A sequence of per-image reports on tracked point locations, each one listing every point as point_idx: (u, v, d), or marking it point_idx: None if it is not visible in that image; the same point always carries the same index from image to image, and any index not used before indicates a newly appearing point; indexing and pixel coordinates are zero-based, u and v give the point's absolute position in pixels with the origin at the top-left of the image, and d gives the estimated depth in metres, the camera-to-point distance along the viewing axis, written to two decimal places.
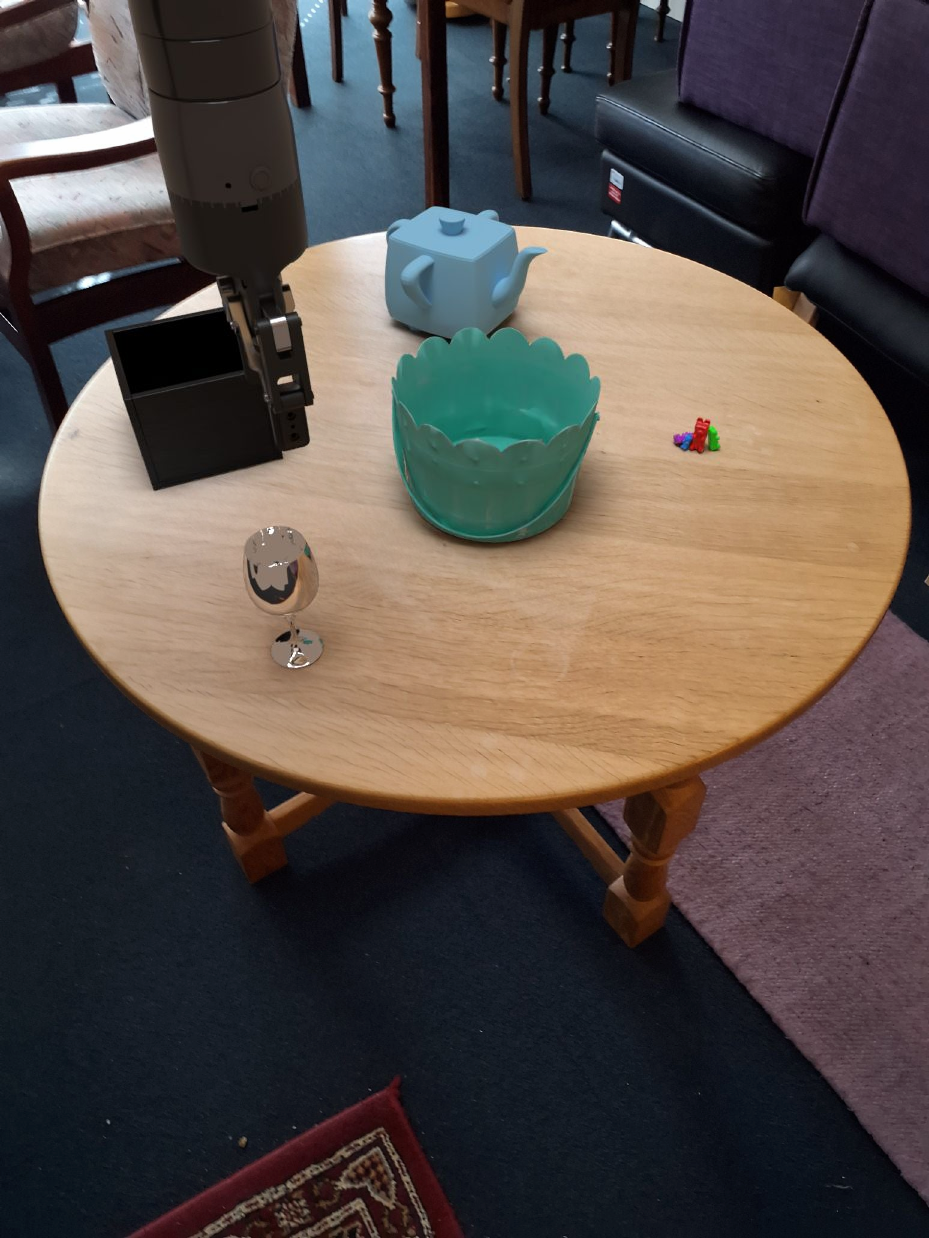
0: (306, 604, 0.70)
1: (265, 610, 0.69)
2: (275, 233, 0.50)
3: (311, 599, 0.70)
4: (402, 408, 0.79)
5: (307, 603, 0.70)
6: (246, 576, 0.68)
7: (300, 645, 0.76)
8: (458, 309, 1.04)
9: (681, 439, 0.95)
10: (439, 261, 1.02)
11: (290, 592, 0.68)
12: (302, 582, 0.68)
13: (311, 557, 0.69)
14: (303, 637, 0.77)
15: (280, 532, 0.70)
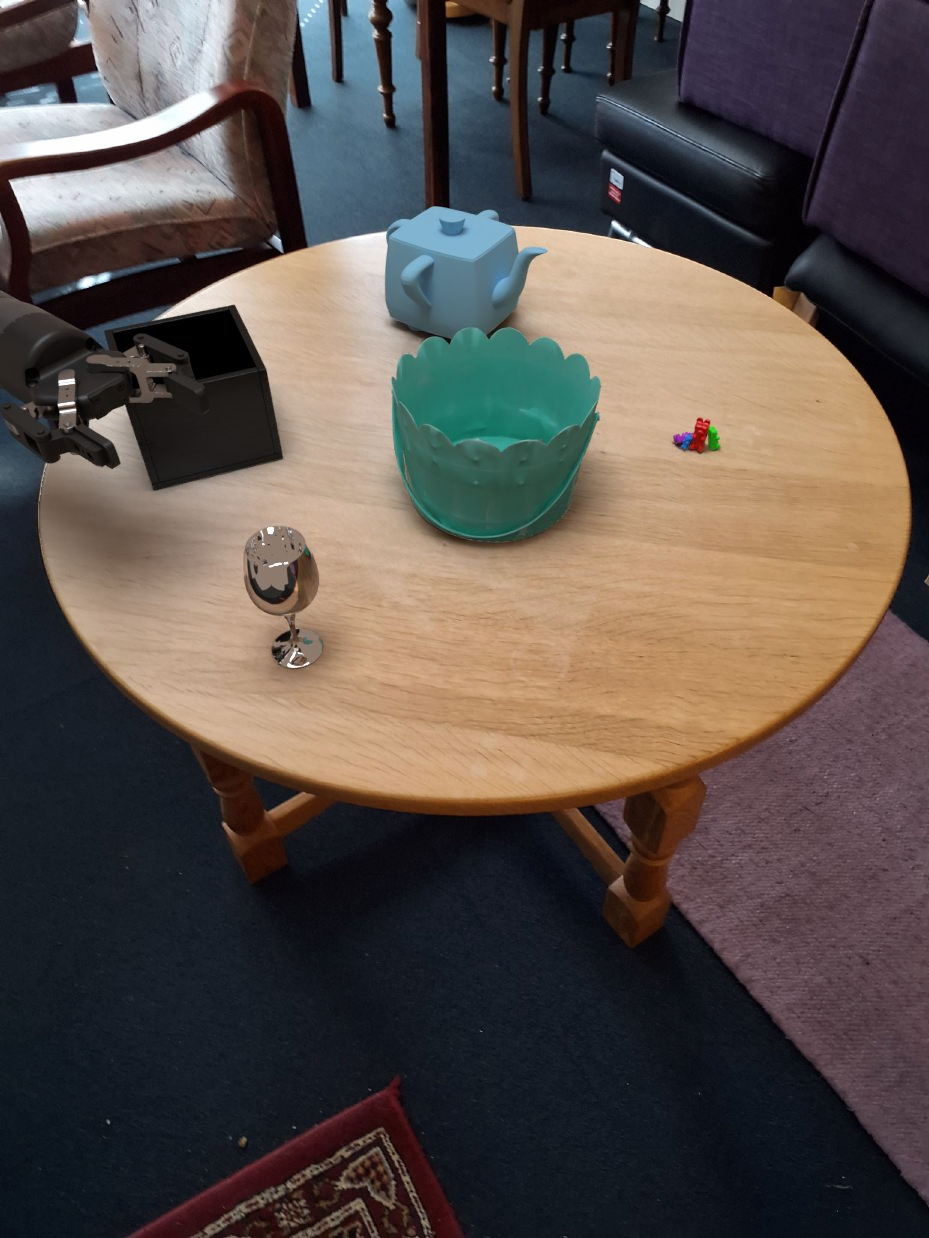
0: (306, 604, 0.70)
1: (265, 610, 0.69)
2: None
3: (311, 599, 0.70)
4: (402, 408, 0.79)
5: (307, 603, 0.70)
6: (246, 576, 0.68)
7: (300, 645, 0.76)
8: (458, 309, 1.04)
9: (681, 439, 0.95)
10: (439, 261, 1.02)
11: (290, 592, 0.68)
12: (302, 582, 0.68)
13: (311, 557, 0.69)
14: (303, 637, 0.77)
15: (280, 532, 0.70)
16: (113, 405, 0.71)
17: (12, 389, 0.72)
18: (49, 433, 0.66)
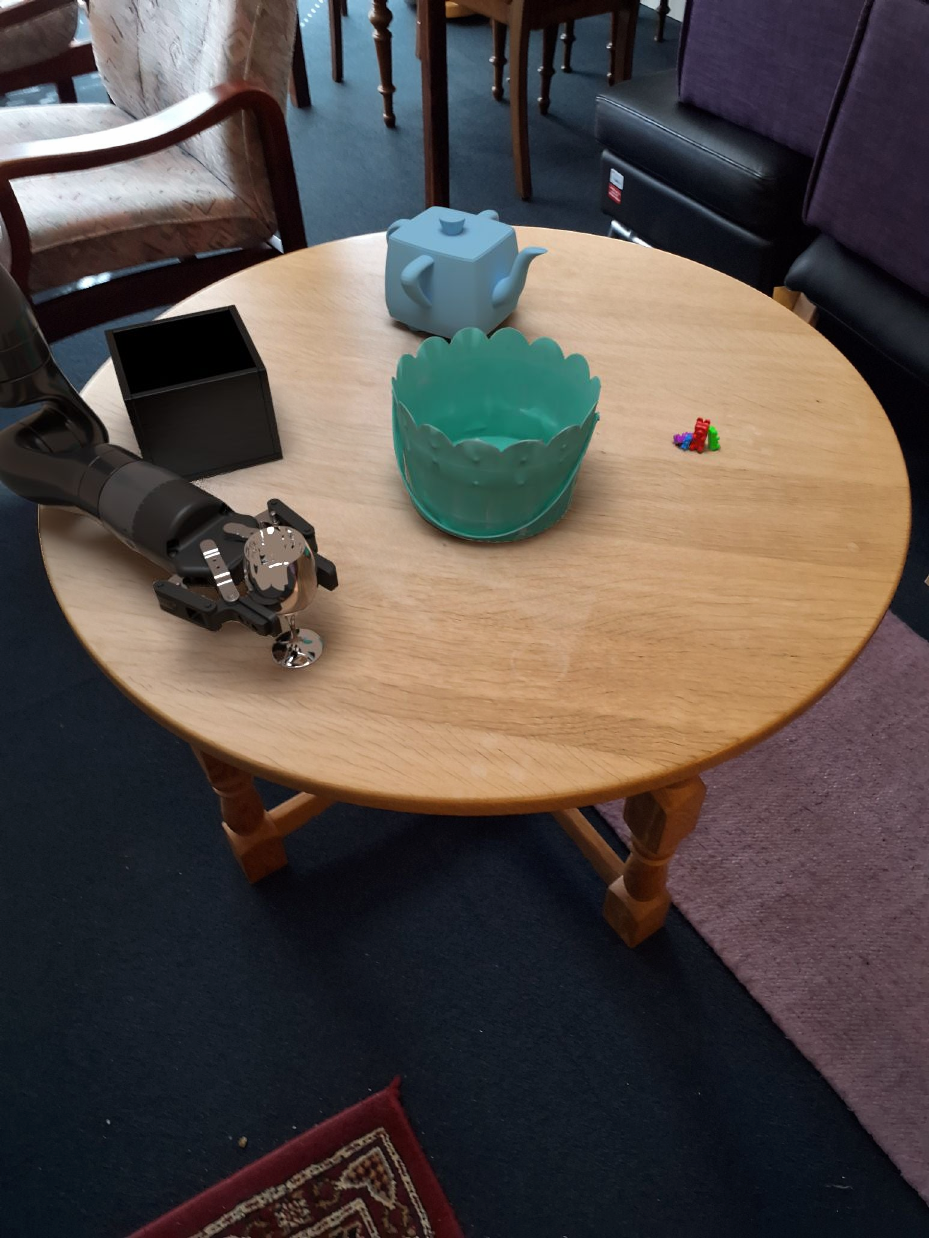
0: (306, 604, 0.70)
1: None
2: None
3: (311, 599, 0.70)
4: (402, 408, 0.79)
5: (307, 603, 0.70)
6: (246, 576, 0.68)
7: (300, 645, 0.76)
8: (458, 309, 1.04)
9: (681, 439, 0.95)
10: (439, 261, 1.02)
11: (290, 592, 0.68)
12: (302, 583, 0.68)
13: (311, 557, 0.69)
14: (303, 637, 0.77)
15: (280, 532, 0.70)
16: None
17: (150, 555, 0.75)
18: (215, 606, 0.69)
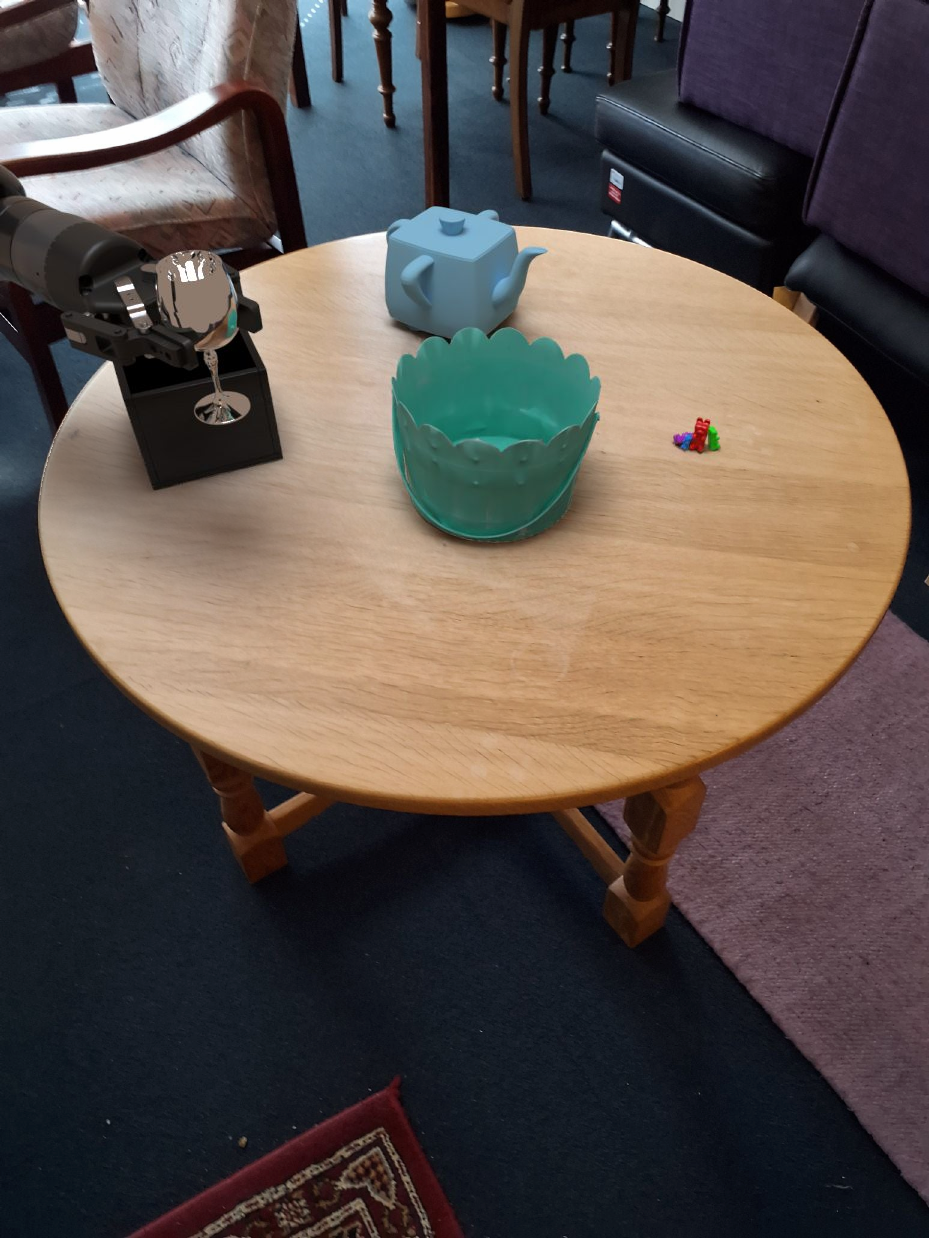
0: (225, 337, 0.65)
1: None
2: None
3: (230, 332, 0.66)
4: (402, 408, 0.79)
5: (226, 336, 0.65)
6: (158, 299, 0.63)
7: (225, 401, 0.71)
8: (458, 309, 1.04)
9: (681, 439, 0.95)
10: (439, 261, 1.02)
11: (205, 315, 0.63)
12: (219, 306, 0.64)
13: (229, 282, 0.64)
14: (229, 396, 0.72)
15: (197, 260, 0.66)
16: None
17: (63, 300, 0.70)
18: (126, 333, 0.64)
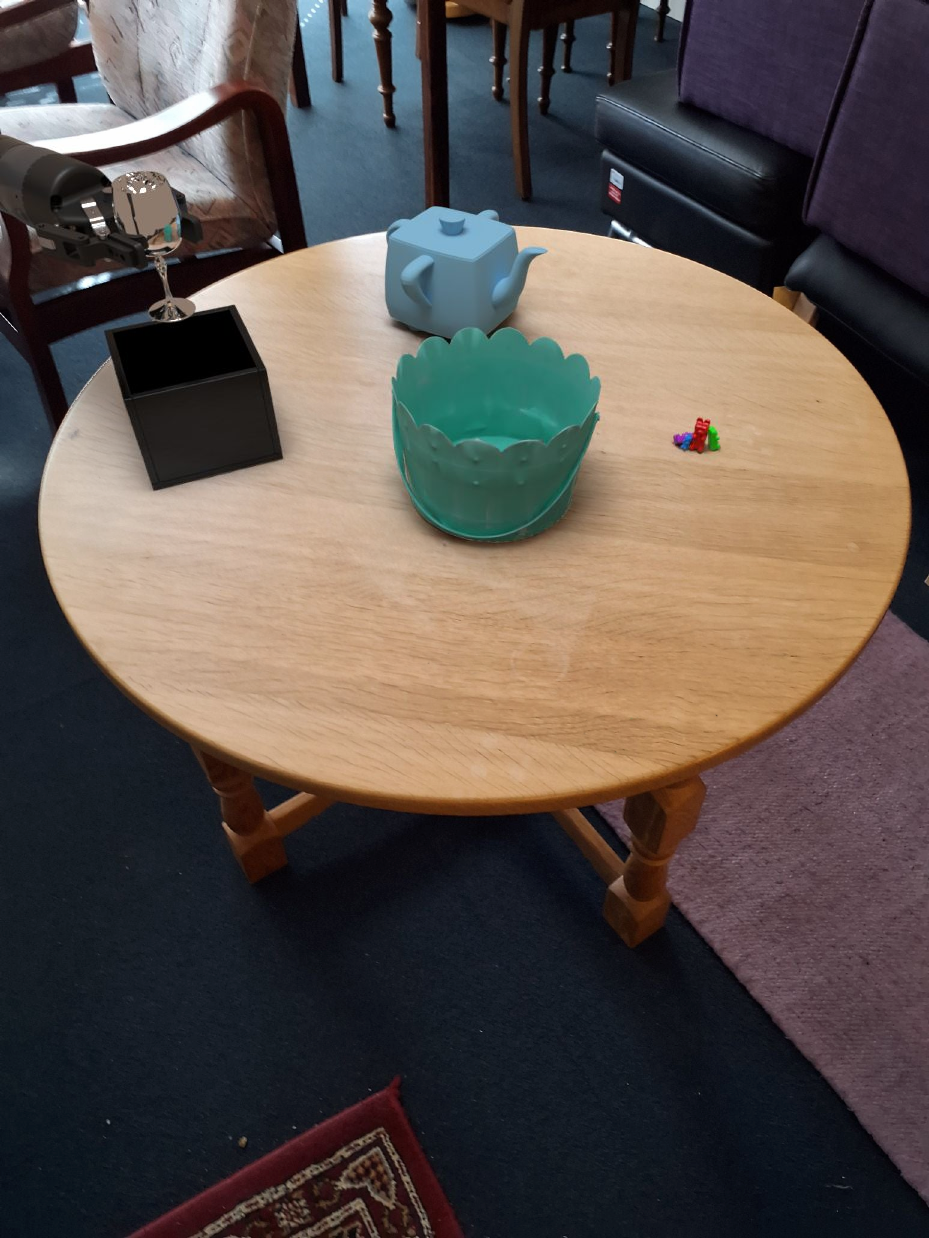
0: (170, 243, 0.79)
1: None
2: None
3: (175, 239, 0.79)
4: (402, 408, 0.79)
5: (171, 242, 0.79)
6: (114, 209, 0.77)
7: (174, 304, 0.85)
8: (458, 309, 1.04)
9: (681, 439, 0.95)
10: (439, 262, 1.02)
11: (152, 222, 0.77)
12: (164, 216, 0.77)
13: (173, 196, 0.78)
14: (178, 300, 0.86)
15: (147, 180, 0.79)
16: None
17: (38, 218, 0.84)
18: (88, 238, 0.78)
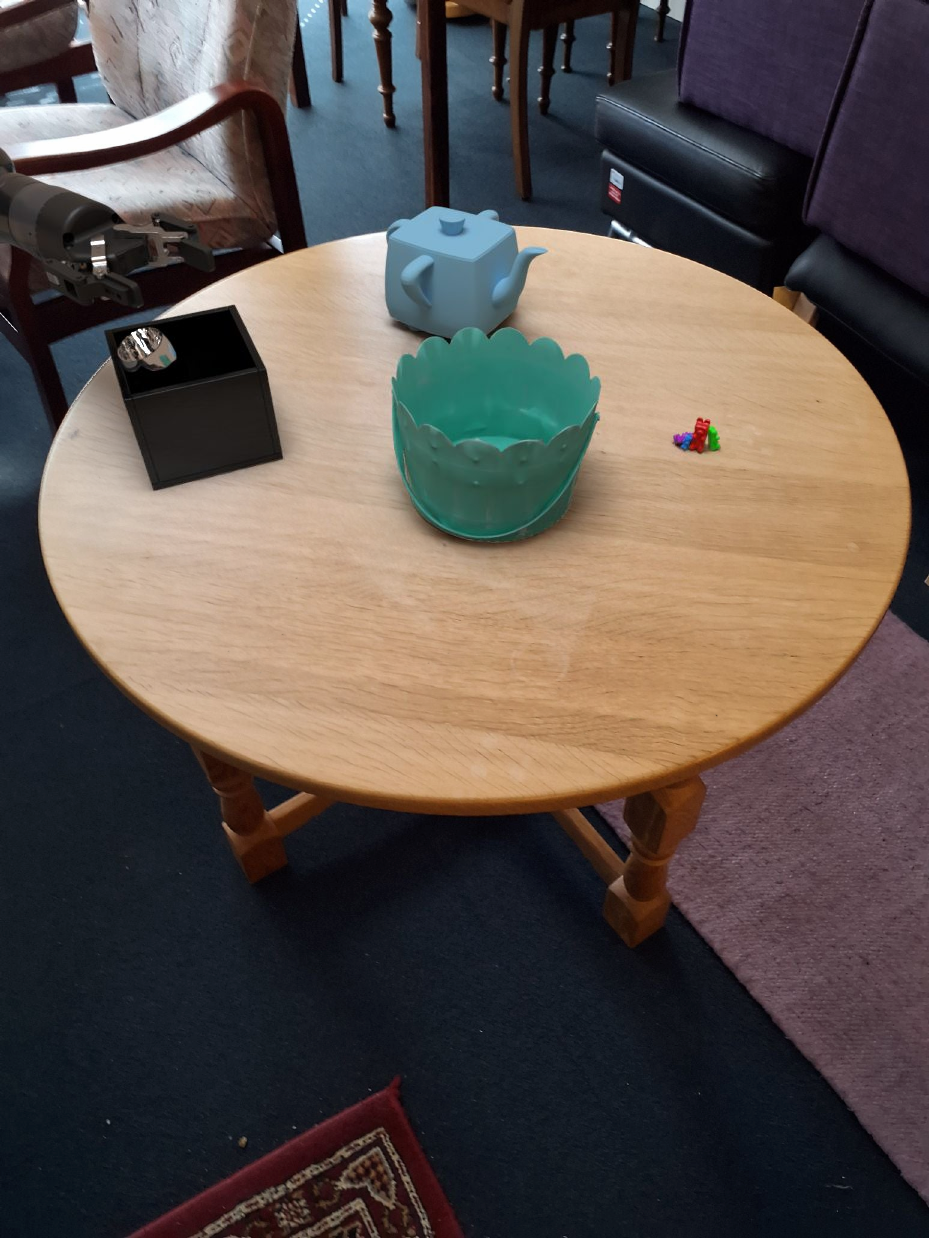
0: None
1: None
2: None
3: None
4: (402, 408, 0.79)
5: None
6: (125, 372, 0.87)
7: None
8: (458, 309, 1.04)
9: (681, 439, 0.95)
10: (439, 262, 1.02)
11: (159, 379, 0.86)
12: (167, 370, 0.86)
13: (171, 348, 0.86)
14: None
15: (148, 333, 0.88)
16: (135, 265, 0.85)
17: (51, 254, 0.86)
18: (85, 278, 0.80)
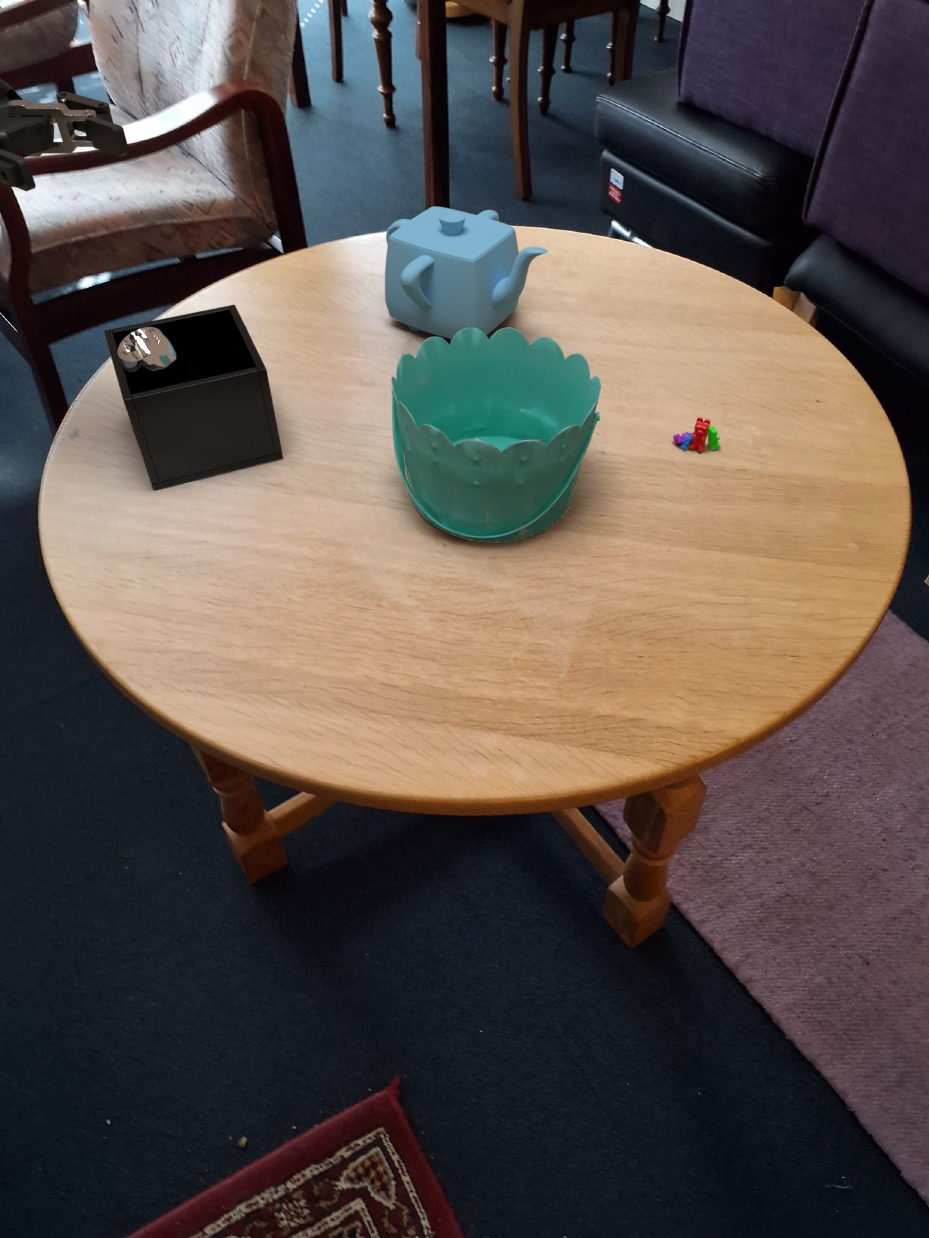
0: None
1: None
2: None
3: None
4: (402, 408, 0.79)
5: None
6: (125, 372, 0.87)
7: None
8: (458, 309, 1.04)
9: (681, 439, 0.95)
10: (439, 261, 1.02)
11: (159, 379, 0.86)
12: (167, 370, 0.86)
13: (171, 348, 0.86)
14: None
15: (148, 333, 0.88)
16: (33, 148, 0.72)
17: None
18: None
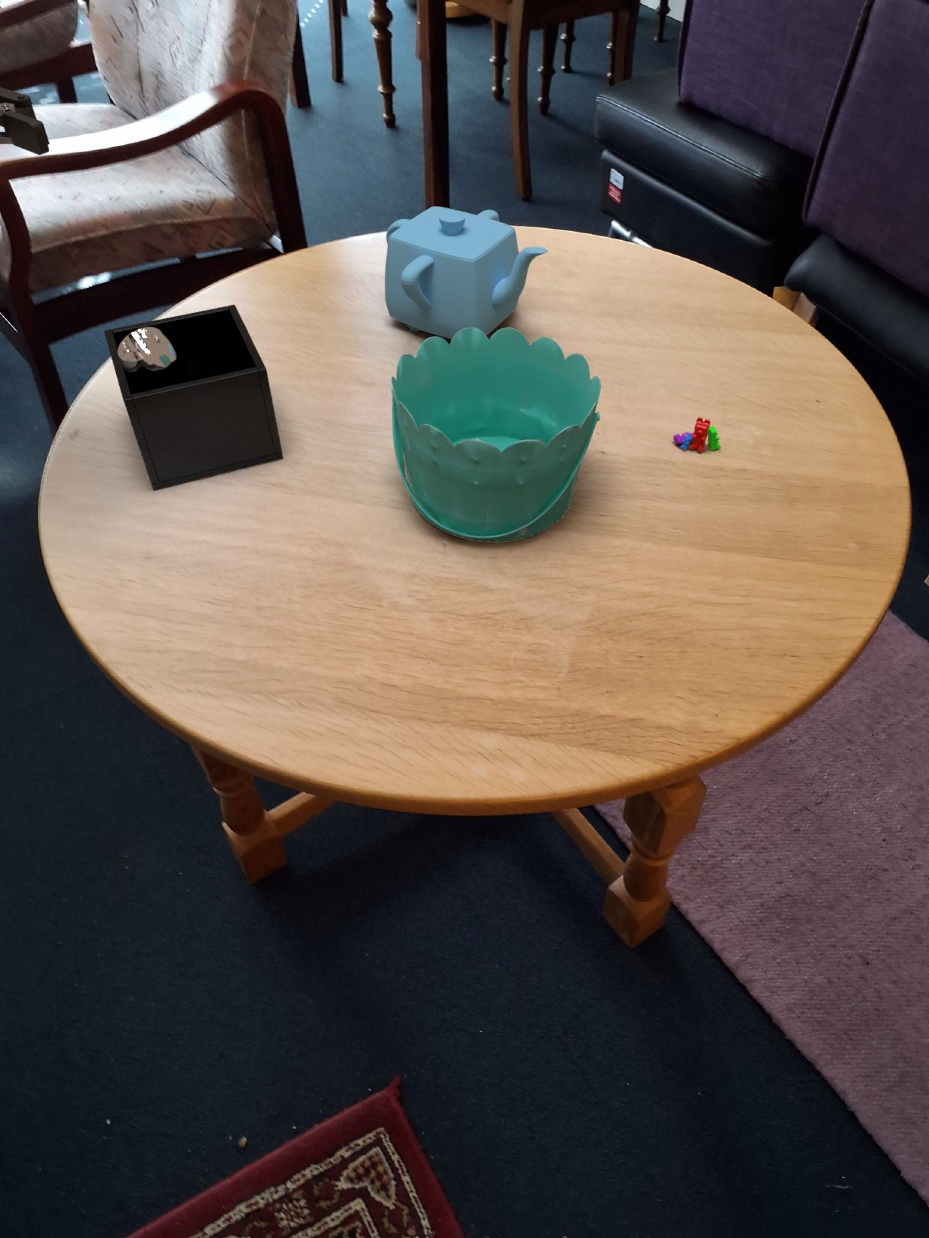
0: None
1: None
2: None
3: None
4: (402, 408, 0.79)
5: None
6: (125, 372, 0.87)
7: None
8: (458, 309, 1.04)
9: (681, 439, 0.95)
10: (439, 262, 1.02)
11: (159, 379, 0.86)
12: (167, 370, 0.86)
13: (171, 348, 0.86)
14: None
15: (148, 333, 0.88)
16: None
17: None
18: None
